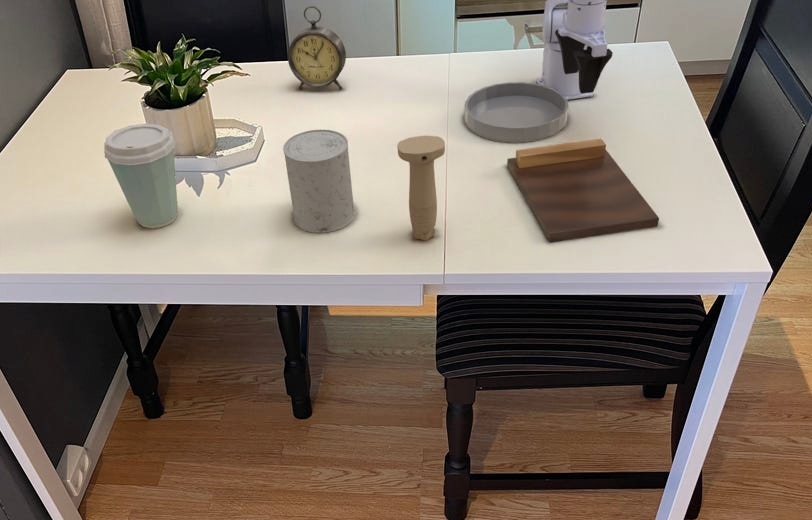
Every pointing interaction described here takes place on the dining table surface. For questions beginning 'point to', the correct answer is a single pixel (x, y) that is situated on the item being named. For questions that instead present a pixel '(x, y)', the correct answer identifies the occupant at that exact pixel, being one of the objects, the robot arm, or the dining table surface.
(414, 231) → the handle
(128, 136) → the disposable coffee cup
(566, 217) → the board
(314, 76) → the alarm clock
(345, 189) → the grey mottled cylinder
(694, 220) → the dining table surface
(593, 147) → the stick
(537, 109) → the tin
